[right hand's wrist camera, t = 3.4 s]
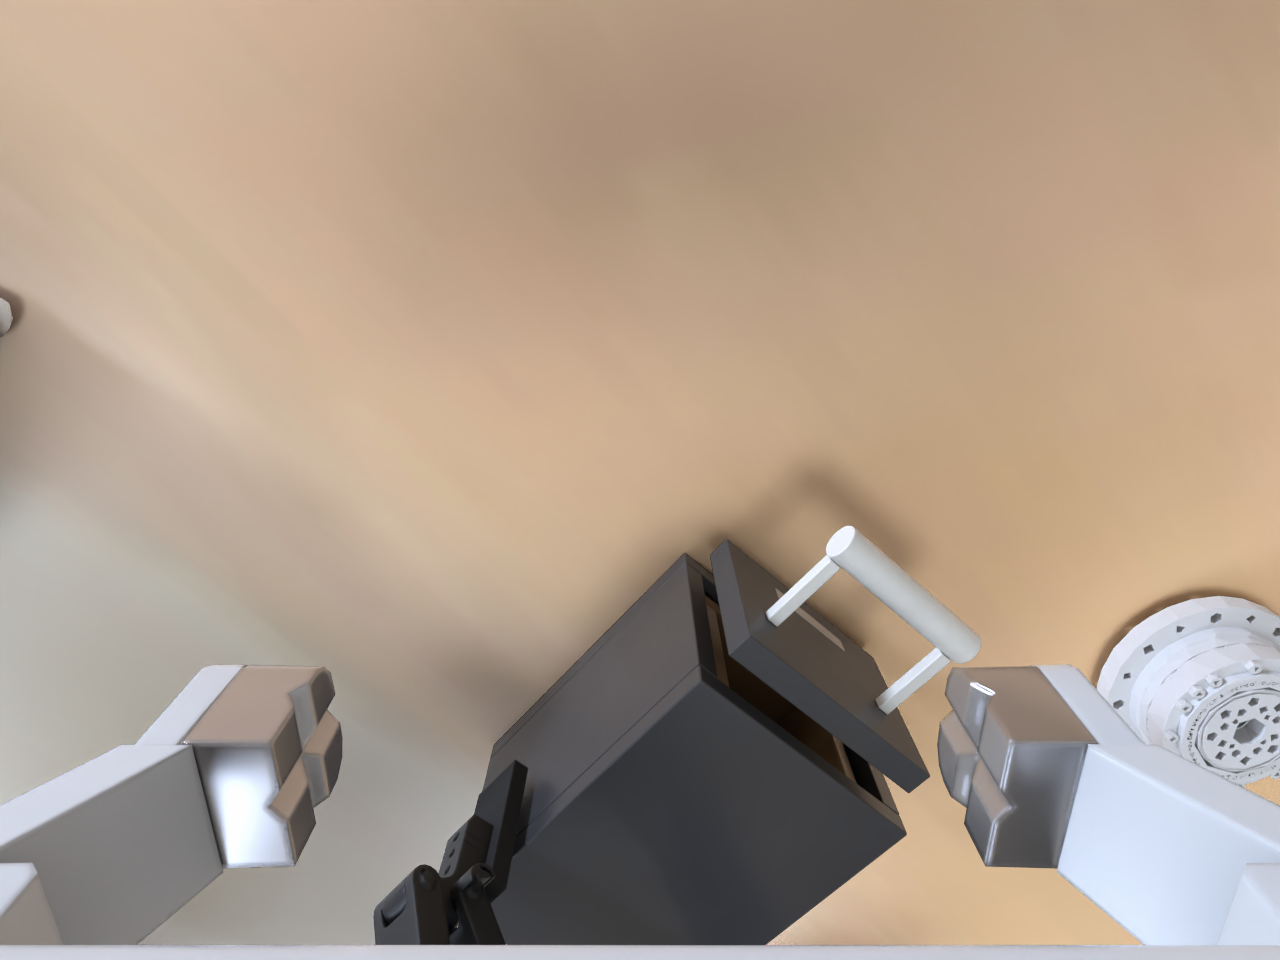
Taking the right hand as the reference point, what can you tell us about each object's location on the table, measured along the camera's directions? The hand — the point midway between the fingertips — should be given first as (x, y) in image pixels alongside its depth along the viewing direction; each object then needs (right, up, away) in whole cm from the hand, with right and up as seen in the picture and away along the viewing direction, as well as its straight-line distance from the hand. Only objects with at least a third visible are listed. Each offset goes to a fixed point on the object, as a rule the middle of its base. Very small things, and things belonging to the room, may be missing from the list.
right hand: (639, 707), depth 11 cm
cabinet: (+1, -9, +32) cm, 34 cm away
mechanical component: (+29, -7, +31) cm, 43 cm away
